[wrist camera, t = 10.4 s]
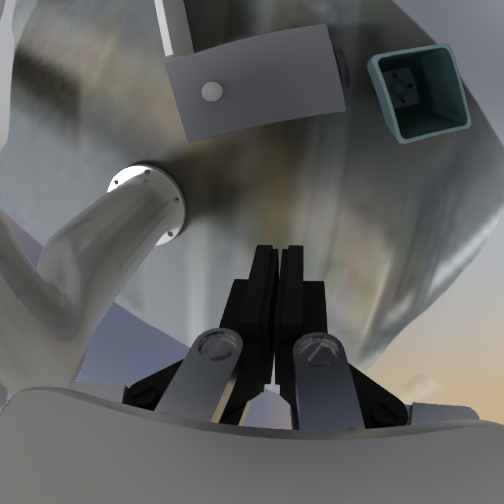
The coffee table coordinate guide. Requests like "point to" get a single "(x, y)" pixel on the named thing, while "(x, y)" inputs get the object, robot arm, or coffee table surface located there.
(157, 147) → the coffee table surface
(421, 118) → the flower pot
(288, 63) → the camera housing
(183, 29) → the side door
